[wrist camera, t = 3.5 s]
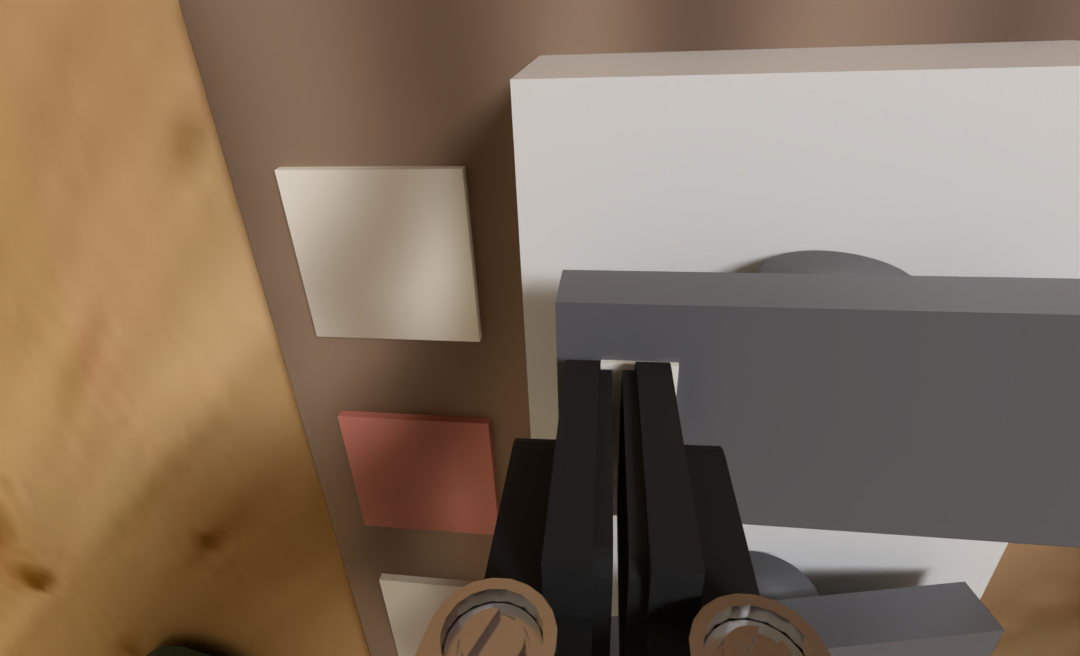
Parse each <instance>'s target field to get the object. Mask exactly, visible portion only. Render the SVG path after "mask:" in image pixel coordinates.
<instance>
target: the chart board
mask: <svg viewBox="0 0 1080 656" xmlns="http://www.w3.org/2000/svg"><path fill="white" fill-rule="evenodd" d="M179 3H180V7H181V10H182V14H183V17H184V21H185V24H186V27H187V31H188V34H189V38H190V41H191V44H192V48H193V51H194V55H195V58H196V61H197V65H198V68H199V72H200V75H201V78H202V82H203V85H204V89H205V92H206V96H207V99H208V102H209V106H210V109H211V113H212V116H213V119H214V123H215V126H216V130H217V133H218V136H219V140H220V143H221V147H222V150H223V153H224V157H225V160H226V164H227V167H228V171H229V174H230V177H231V181H232V184H233V188H234V191H235V194H236V198H237V201H238V205H239V208H240V211H241V215H242V218H243V222H244V225H245V229H246V232H247V235H248V239H249V242H250V246H251V249H252V252H253V256H254V259H255V263H256V266H257V269H258V273H259V276H260V280H261V283H262V286H263V290H264V293H265V297H266V300H267V304H268V307H269V310H270V314H271V317H272V321H273V324H274V327H275V331H276V334H277V338H278V341H279V344H280V348H281V351H282V355H283V358H284V361H285V365H286V368H287V372H288V375H289V379H290V382H291V385H292V389H293V392H294V396H295V399H296V402H297V406H298V409H299V413H300V416H301V419H302V423H303V426H304V430H305V433H306V437H307V440H308V443H309V447H310V450H311V454H312V457H313V460H314V464H315V467H316V471H317V474H318V477H319V481H320V484H321V488H322V491H323V494H324V498H325V501H326V505H327V508H328V512H329V515H330V518H331V522H332V525H333V529H334V532H335V535H336V539H337V542H338V546H339V549H340V552H341V556H342V559H343V563H344V566H345V569H346V573H347V576H348V580H349V583H350V587H351V590H352V593H353V597H354V600H355V604H356V607H357V610H358V614H359V617H360V621H361V624H362V627H363V631H364V634H365V638H366V641H367V645H368V648H369V651H370V655H371V656H415V654H416V652H417V650H418V647H419V645H420V643H421V641H422V639H423V636H424V634H425V632H426V630H427V627H428V625H429V623H430V621H431V619H432V617H433V616H434V614H435V613H436V611H437V610H438V608H439V606H440V605H441V603H442V602H444V601H445V600H446V599H447V598H448V597H449V596H450V595H451V594H453V593H454V592H455V591H456V590H458V589H460V588H462V587H464V586H466V585H468V584H470V583H472V582H474V581H479V580H484V577H485V572H486V568H487V563H488V558H489V554H490V549H491V544H492V540H493V535H494V530H495V526H496V521H497V516H498V512H499V507H500V502H501V498H502V493H503V488H504V484H505V479H506V474H507V470H508V465H509V460H510V456H511V451H512V447H513V443H514V440H515V439H516V438H531V432H530V414H529V397H528V380H527V363H526V346H525V328H524V311H523V294H522V277H521V260H520V243H519V225H518V208H517V191H516V174H515V157H514V139H513V122H512V105H511V88H510V79H511V78H513V77H514V76H515V75H516V74H518V73H519V72H520V71H521V70H523V69H524V68H525V67H526V66H527V65H529V64H530V63H531V62H532V61H534V60H535V59H536V58H537V57H539V56H541V55H575V54H610V53H645V52H679V51H714V50H748V49H783V48H818V47H852V46H887V45H921V44H956V43H991V42H1025V41H1060V40H1077V41H1080V0H179Z"/></svg>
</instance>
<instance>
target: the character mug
mask: <svg viewBox="0 0 1080 656" xmlns="http://www.w3.org/2000/svg"><path fill="white" fill-rule="evenodd" d="M147 656H210V655H207V654H204V653H201V652H198V651H195V650H192V649H189V648H186V647H181V646H160V647H159V648H157V649H155V650H154V651H152V652H151V653H149V654H148V655H147Z"/></svg>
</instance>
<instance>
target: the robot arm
mask: <svg viewBox="0 0 1080 656" xmlns="http://www.w3.org/2000/svg"><path fill="white" fill-rule="evenodd" d="M617 556H618V624H619V656H831V655H830V653H829V651H828V649H827V647H826V646H825V644H824V643H823V641H822V640H821V638H820V637H819V635H818V634H817V632H816V631H815V629H814V628H813V627H812V626H811V625H809V624H808V623H807V622H806V621H805V620H804V619H803V618H802V617H801V616H800V615H799V614H798V613H796V612H795V611H793V610H791V609H789V608H788V607H786V606H784V605H783V604H781V603H779V602H778V601H775V600H772V599H768V598H765V597H762V596H760V593H759V589H758V585H757V581H756V577H755V573H754V569H753V565H752V561H751V557H750V553H749V549H748V545H747V541H746V537H745V533H744V529H743V525H742V521H741V517H740V513H739V509H738V505H737V501H736V497H735V493H734V489H733V485H732V481H731V477H730V473H729V469H728V465H727V461H726V457H725V454H724V451H723V449H722V448H721V446H706V445H684V441H683V435H682V429H681V423H680V417H679V411H678V405H677V399H676V393H675V387H674V381H673V375H672V369H671V364H670V362H638V361H636V363H635V370H622V382H621V408H620V433H619V459H618V484H617ZM612 588H613V426H612V370H607V369H599V360H566V361H565V369H564V377H563V385H562V394H561V402H560V410H559V419H558V427H557V435H556V439H531V438H516V439H515V440H514V443H513V447H512V451H511V456H510V460H509V465H508V470H507V474H506V479H505V484H504V488H503V493H502V498H501V502H500V507H499V512H498V516H497V521H496V526H495V530H494V535H493V540H492V544H491V549H490V554H489V558H488V563H487V568H486V572H485V577H484V580H479V581H474V582H472V583H470V584H468V585H466V586H464V587H462V588H460V589H458V590H456V591H455V592H454V593H453V594H451V595H450V596H449V597H448V598H447V599H446V600H445V601H444V602H442V603H441V605H440V606H439V608H438V610H437V611H436V613H435V614H434V616H433V617H432V619H431V621H430V623H429V625H428V627H427V630H426V632H425V634H424V636H423V639H422V641H421V643H420V645H419V647H418V650H417V652H416V654H415V656H610V640H611V614H612Z"/></svg>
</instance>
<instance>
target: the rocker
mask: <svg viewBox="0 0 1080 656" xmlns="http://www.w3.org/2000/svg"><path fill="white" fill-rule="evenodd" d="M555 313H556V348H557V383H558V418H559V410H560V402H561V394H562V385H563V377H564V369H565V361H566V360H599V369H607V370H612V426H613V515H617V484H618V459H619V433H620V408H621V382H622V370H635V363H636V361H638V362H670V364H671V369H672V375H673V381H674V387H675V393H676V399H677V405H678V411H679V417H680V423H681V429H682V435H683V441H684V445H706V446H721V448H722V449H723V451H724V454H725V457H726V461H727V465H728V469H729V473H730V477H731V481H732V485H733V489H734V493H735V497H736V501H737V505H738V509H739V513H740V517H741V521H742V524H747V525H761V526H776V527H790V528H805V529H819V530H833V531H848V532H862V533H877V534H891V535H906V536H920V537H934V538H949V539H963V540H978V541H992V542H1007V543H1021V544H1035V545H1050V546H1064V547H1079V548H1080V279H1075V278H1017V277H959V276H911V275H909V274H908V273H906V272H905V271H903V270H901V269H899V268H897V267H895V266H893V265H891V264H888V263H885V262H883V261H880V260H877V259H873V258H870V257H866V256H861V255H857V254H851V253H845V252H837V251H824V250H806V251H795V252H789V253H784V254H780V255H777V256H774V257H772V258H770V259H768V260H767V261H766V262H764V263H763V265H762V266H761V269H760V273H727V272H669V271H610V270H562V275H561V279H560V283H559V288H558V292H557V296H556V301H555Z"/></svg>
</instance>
